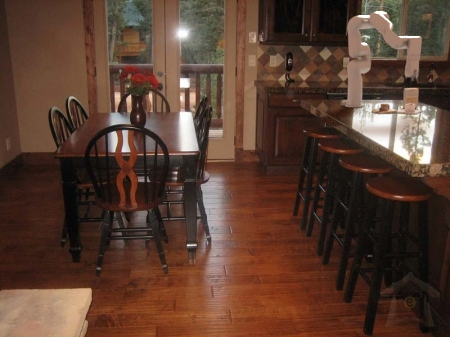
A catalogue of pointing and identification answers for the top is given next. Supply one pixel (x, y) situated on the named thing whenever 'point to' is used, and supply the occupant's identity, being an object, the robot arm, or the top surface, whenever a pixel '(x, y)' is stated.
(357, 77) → the robot arm
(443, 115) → the top surface
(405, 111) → the mat
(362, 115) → the top surface
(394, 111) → the tan round plate
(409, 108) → the cap
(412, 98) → the supplement box
